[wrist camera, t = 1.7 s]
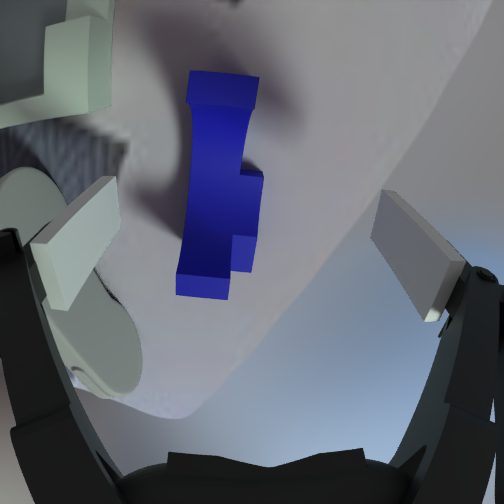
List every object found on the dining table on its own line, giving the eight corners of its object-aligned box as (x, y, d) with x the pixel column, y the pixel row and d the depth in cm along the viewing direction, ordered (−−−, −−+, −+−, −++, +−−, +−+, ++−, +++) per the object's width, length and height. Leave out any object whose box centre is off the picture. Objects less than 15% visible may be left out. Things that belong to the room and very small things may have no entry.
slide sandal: (25, 163, 19) (-45, 210, 11) (45, 151, 18) (-28, 195, 11) (130, 346, 29) (111, 418, 21) (149, 343, 28) (133, 417, 21)
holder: (-23, 130, 16) (-51, 142, 13) (-7, -55, 7) (-31, -61, 4) (110, 106, 17) (88, 113, 14) (135, -108, 8) (121, -129, 5)
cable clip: (249, 249, 23) (253, 302, 18) (188, 243, 23) (175, 294, 18) (276, 81, 17) (293, 83, 12) (203, 72, 17) (189, 70, 12)
